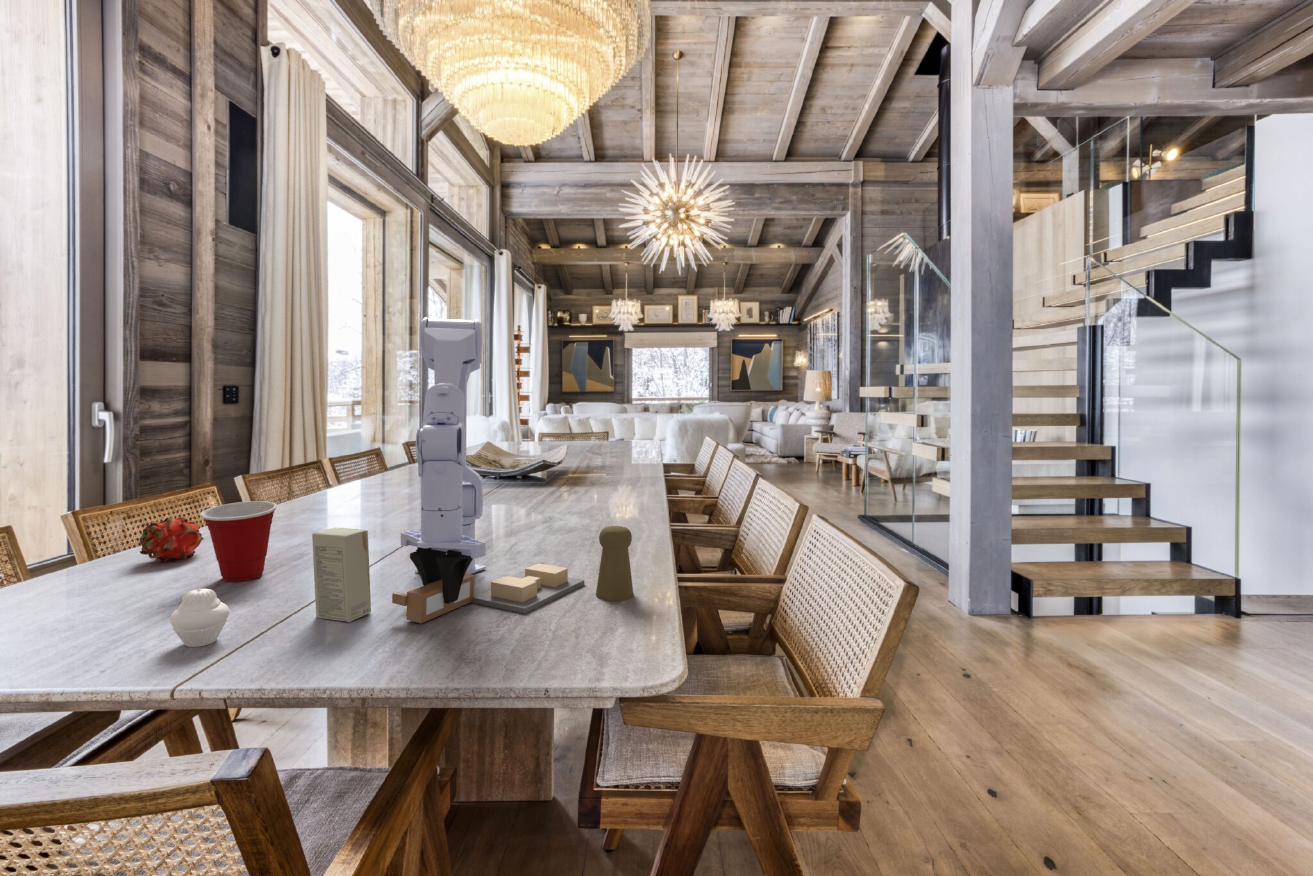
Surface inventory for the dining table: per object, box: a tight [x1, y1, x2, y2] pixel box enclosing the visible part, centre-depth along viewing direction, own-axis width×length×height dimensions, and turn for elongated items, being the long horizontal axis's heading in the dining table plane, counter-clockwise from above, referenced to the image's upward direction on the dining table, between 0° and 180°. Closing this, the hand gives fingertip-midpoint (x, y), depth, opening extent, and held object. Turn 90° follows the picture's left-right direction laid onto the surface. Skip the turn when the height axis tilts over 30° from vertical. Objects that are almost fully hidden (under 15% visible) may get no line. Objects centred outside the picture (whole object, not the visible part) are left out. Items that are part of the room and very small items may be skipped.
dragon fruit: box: [139, 516, 205, 563], centre depth 119 cm, size 8×8×12 cm
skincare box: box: [311, 527, 372, 623], centre depth 92 cm, size 6×4×12 cm
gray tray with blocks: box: [471, 562, 585, 615], centre depth 103 cm, size 10×16×3 cm, turn 154°
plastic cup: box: [199, 500, 278, 583], centre depth 108 cm, size 11×11×12 cm
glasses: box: [391, 573, 475, 624], centre depth 95 cm, size 5×12×4 cm, turn 156°
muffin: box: [169, 587, 230, 648], centre depth 81 cm, size 6×6×7 cm
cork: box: [595, 525, 634, 602], centre depth 103 cm, size 6×6×11 cm
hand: (442, 599), depth 94 cm, fingers closed on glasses, 3 cm apart
